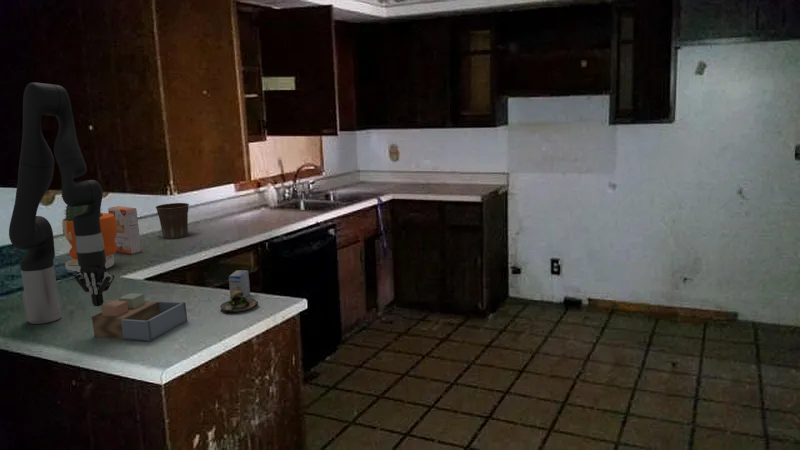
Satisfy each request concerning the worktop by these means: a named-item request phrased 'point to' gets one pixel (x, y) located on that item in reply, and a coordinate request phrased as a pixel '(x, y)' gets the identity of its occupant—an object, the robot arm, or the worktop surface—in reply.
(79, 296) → the worktop surface
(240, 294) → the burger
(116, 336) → the wooden block
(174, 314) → the tray
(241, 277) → the medicine box
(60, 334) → the worktop surface
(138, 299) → the tile sage
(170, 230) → the plant pot
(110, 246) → the potted cactus
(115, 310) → the tile terracotta
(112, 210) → the cracker box
